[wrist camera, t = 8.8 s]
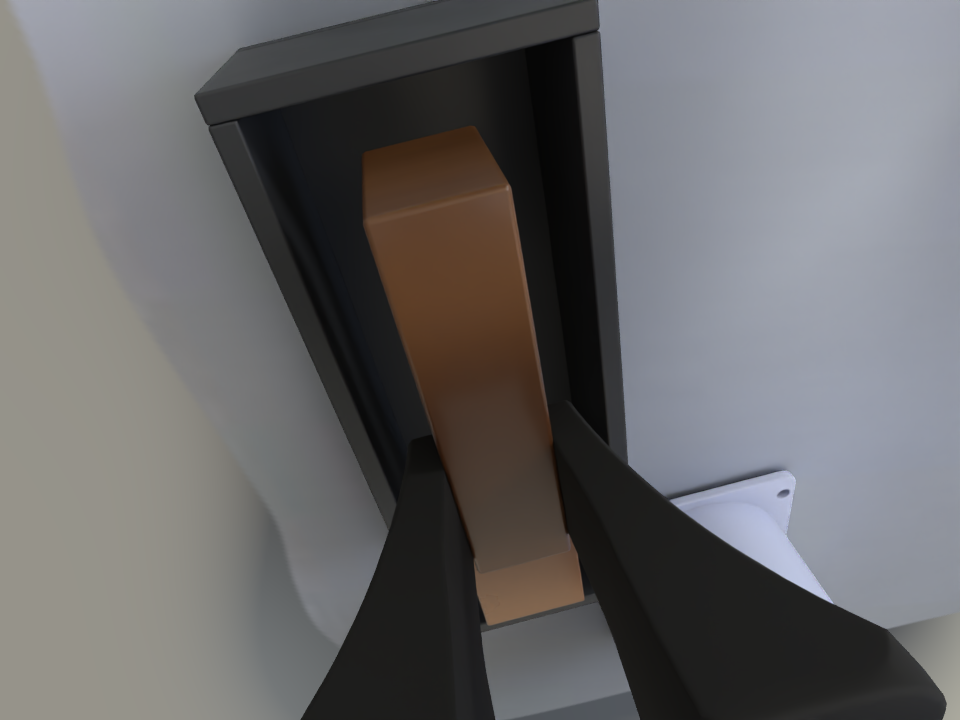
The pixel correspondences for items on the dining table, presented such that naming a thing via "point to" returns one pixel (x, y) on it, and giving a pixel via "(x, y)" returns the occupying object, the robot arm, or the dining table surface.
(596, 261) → the tub
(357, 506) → the dining table surface
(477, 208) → the notched wooden bar
